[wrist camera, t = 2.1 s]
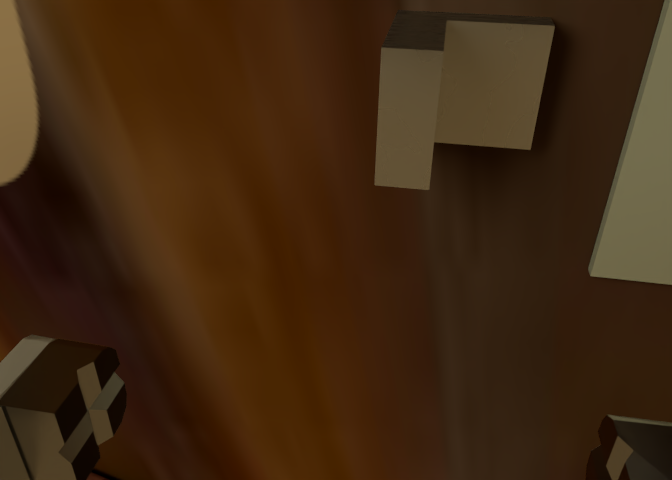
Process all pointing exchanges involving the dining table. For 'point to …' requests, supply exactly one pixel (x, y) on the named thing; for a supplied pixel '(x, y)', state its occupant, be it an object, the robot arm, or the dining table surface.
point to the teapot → (95, 477)
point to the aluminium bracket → (456, 87)
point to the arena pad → (643, 179)
